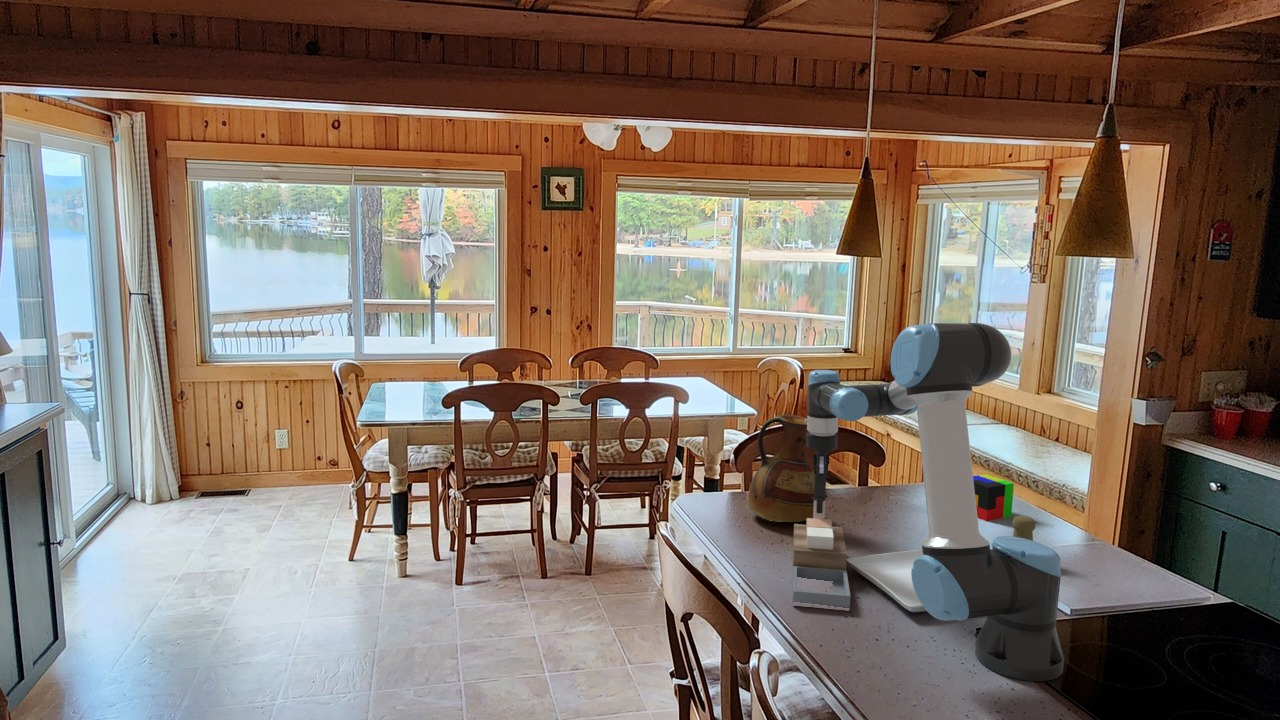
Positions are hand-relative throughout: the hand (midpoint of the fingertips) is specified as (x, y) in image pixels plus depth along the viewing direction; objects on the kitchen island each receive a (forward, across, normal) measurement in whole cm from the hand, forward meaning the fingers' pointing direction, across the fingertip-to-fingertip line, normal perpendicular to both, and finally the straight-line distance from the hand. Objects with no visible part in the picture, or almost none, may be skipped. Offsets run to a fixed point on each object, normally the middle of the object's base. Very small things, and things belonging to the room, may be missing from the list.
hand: (818, 523), depth 203 cm
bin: (+8, +24, 0) cm, 26 cm away
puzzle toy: (+8, -42, +49) cm, 65 cm away
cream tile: (+1, +11, 0) cm, 11 cm away
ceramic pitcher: (+8, -26, -9) cm, 28 cm away
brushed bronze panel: (+8, +7, 0) cm, 11 cm away
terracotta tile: (+1, +5, 0) cm, 5 cm away
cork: (+8, -7, +50) cm, 51 cm away
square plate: (+9, +15, +24) cm, 30 cm away
